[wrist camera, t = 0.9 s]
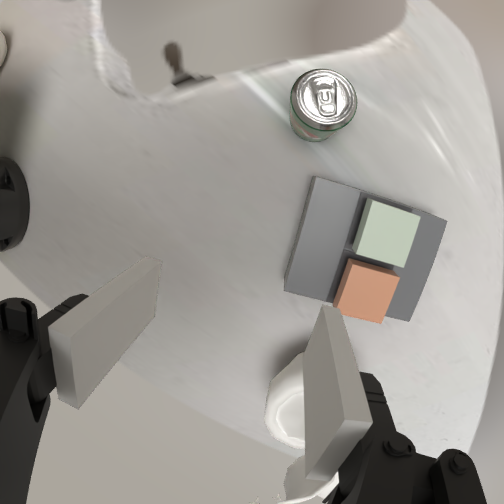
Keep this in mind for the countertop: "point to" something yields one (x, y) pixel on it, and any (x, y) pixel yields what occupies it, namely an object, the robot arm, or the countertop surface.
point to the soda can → (321, 104)
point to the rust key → (365, 291)
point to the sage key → (385, 233)
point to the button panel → (341, 242)
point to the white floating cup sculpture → (292, 432)
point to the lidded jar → (2, 48)
